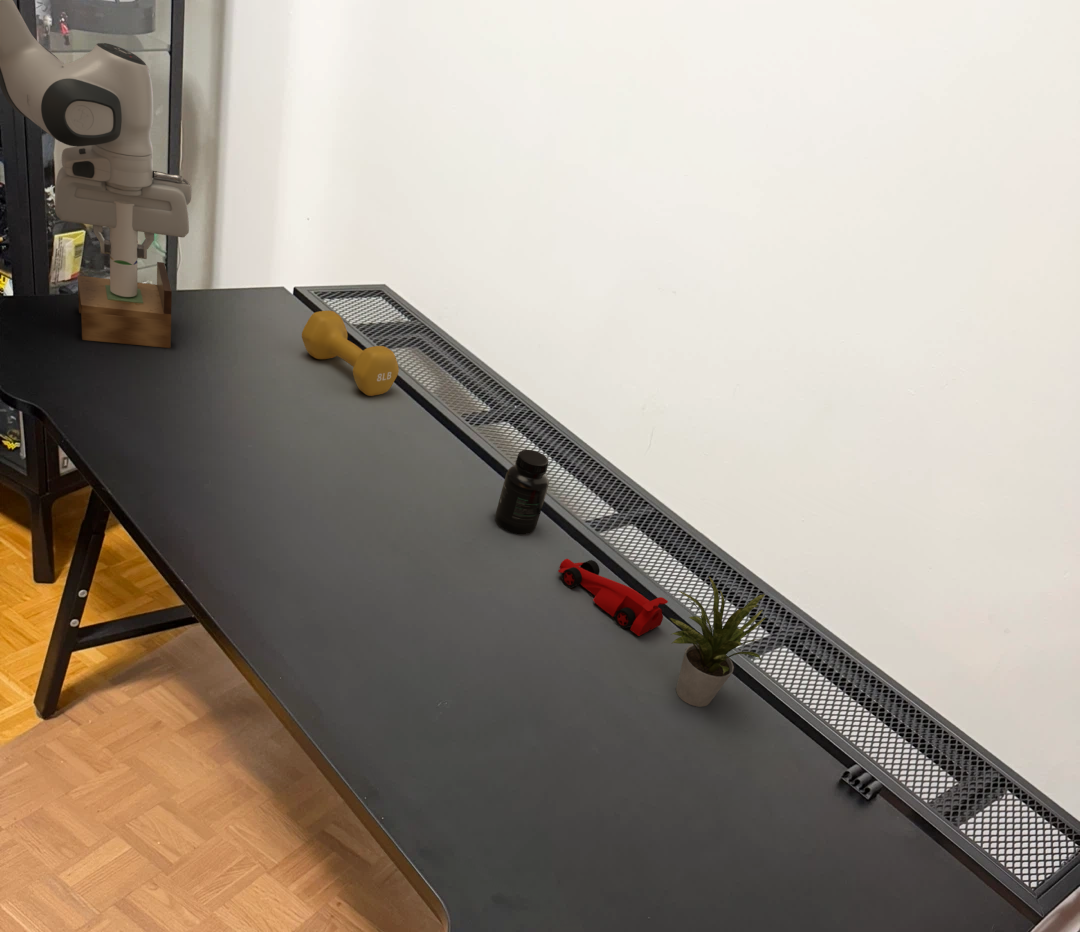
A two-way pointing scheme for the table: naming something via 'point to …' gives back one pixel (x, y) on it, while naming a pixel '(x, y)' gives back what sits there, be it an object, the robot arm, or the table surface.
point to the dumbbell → (350, 352)
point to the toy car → (614, 597)
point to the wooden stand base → (126, 312)
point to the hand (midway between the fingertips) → (123, 255)
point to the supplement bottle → (523, 493)
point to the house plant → (711, 650)
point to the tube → (123, 252)
